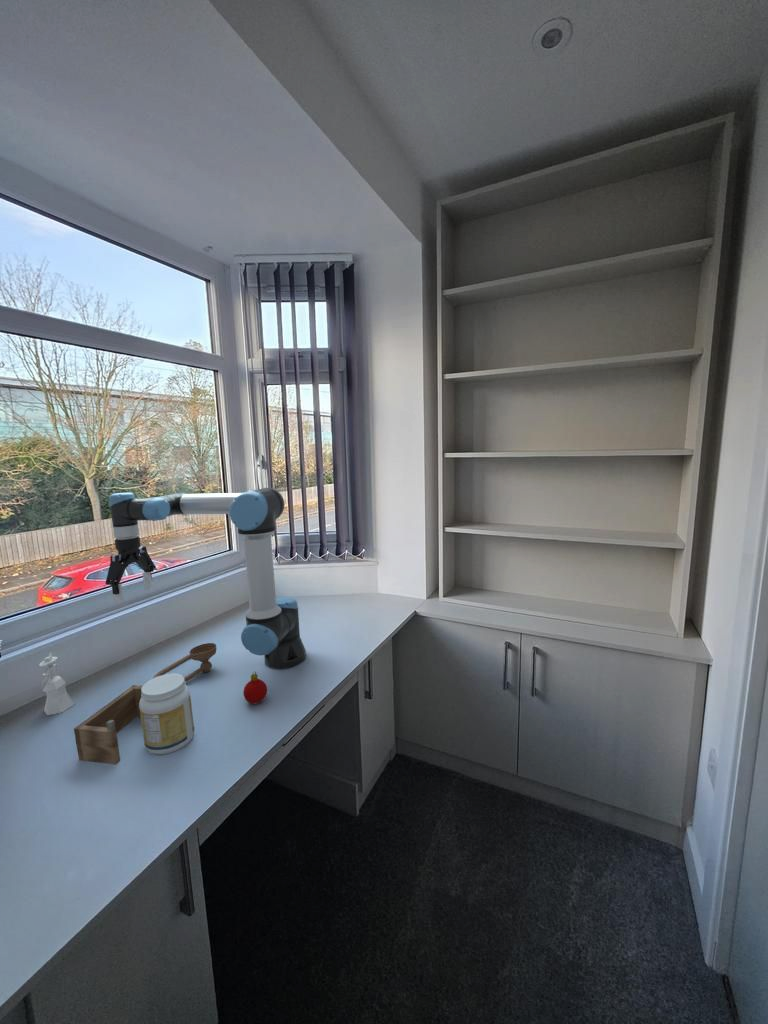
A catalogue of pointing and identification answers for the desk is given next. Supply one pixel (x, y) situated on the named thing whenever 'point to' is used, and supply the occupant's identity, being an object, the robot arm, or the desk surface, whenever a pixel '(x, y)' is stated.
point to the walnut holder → (107, 728)
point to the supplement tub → (166, 714)
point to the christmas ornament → (255, 690)
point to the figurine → (54, 688)
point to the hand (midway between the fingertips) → (134, 595)
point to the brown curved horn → (197, 654)
